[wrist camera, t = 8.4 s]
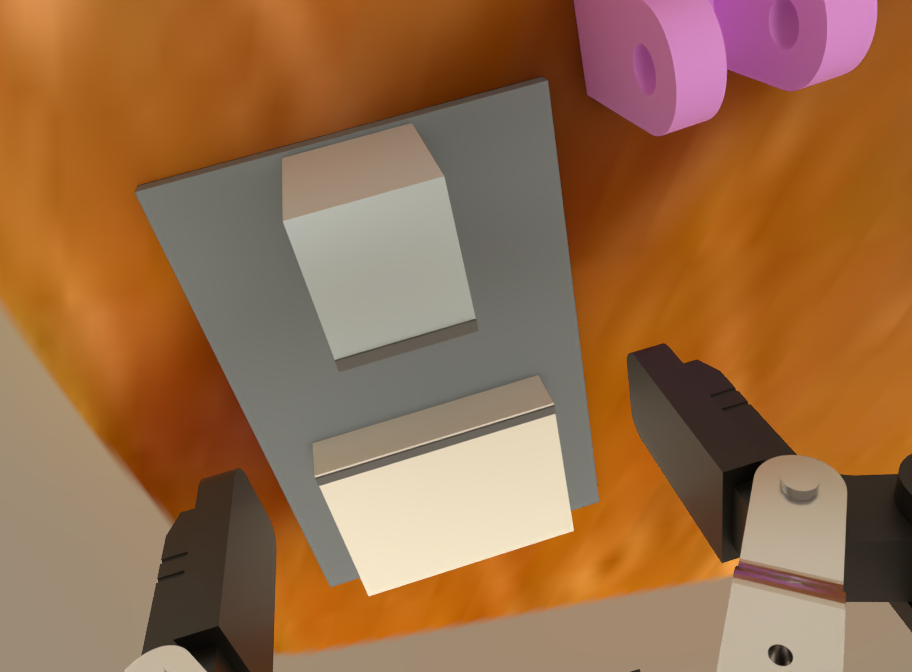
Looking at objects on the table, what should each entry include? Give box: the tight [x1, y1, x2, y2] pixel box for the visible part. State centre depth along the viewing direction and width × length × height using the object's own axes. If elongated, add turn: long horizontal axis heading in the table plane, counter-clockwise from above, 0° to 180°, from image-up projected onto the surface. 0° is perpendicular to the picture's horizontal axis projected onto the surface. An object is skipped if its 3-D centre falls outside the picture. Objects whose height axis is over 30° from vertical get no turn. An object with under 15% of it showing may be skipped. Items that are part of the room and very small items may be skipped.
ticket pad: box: [135, 77, 599, 596], centre depth 28 cm, size 14×21×3 cm, turn 12°
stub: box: [282, 123, 479, 372], centre depth 22 cm, size 4×5×6 cm
